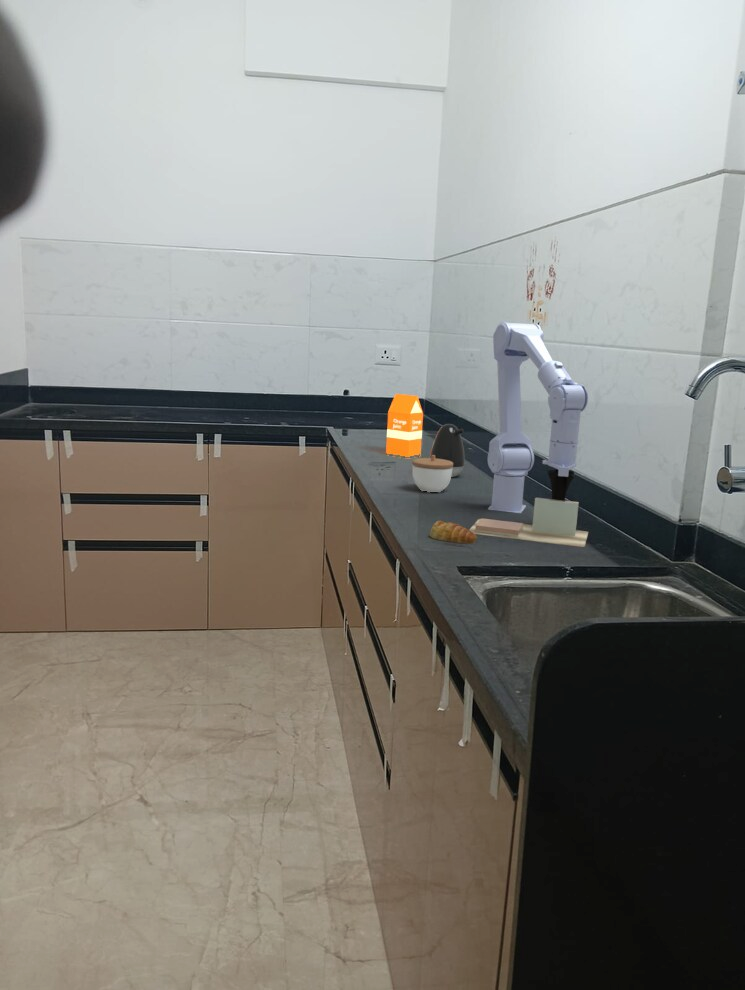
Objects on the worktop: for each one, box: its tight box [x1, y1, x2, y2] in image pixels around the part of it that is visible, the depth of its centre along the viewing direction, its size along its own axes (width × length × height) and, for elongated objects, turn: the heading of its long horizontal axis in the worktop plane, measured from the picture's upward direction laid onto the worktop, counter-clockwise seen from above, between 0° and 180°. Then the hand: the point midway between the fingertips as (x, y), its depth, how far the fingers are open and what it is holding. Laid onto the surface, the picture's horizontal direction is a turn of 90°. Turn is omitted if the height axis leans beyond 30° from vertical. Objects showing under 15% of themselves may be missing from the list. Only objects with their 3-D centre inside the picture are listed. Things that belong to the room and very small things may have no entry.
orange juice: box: [385, 393, 424, 457], centre depth 272 cm, size 8×9×20 cm
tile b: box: [532, 497, 579, 536], centre depth 177 cm, size 1×9×7 cm, turn 73°
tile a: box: [475, 518, 524, 537], centre depth 177 cm, size 1×9×7 cm
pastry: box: [429, 520, 478, 547], centre depth 168 cm, size 9×7×4 cm
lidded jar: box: [411, 455, 453, 493], centre depth 218 cm, size 11×11×9 cm
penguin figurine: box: [429, 423, 466, 478], centre depth 239 cm, size 10×10×15 cm
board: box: [468, 518, 589, 548], centre depth 177 cm, size 14×24×1 cm, turn 72°
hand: (557, 503), depth 179 cm, fingers closed
